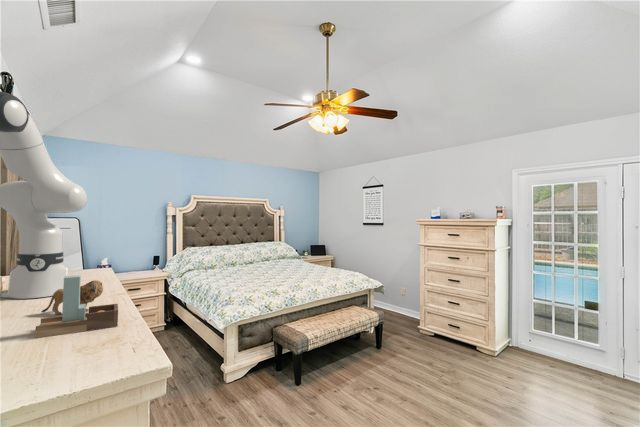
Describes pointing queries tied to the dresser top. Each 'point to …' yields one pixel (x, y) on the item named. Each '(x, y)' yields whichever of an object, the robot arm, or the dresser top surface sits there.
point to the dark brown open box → (102, 317)
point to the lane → (59, 326)
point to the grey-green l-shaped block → (72, 300)
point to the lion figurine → (86, 295)
